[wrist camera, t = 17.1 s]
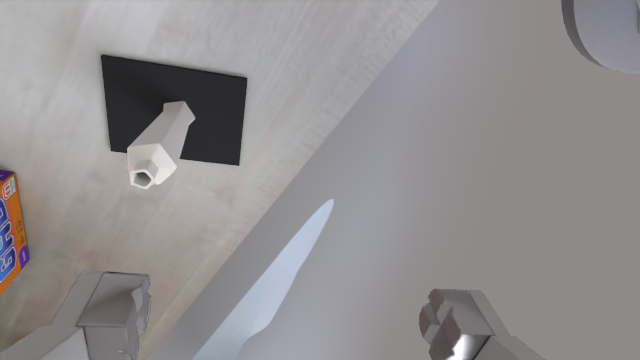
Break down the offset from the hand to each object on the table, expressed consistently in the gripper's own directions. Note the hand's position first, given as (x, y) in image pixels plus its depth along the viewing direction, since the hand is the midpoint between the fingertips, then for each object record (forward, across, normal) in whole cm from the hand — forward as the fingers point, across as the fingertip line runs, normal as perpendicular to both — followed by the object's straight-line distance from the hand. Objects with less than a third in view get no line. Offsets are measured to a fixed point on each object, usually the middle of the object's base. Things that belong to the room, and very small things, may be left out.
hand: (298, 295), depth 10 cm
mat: (+37, +11, +11) cm, 40 cm away
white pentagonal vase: (+37, +11, +11) cm, 40 cm away
